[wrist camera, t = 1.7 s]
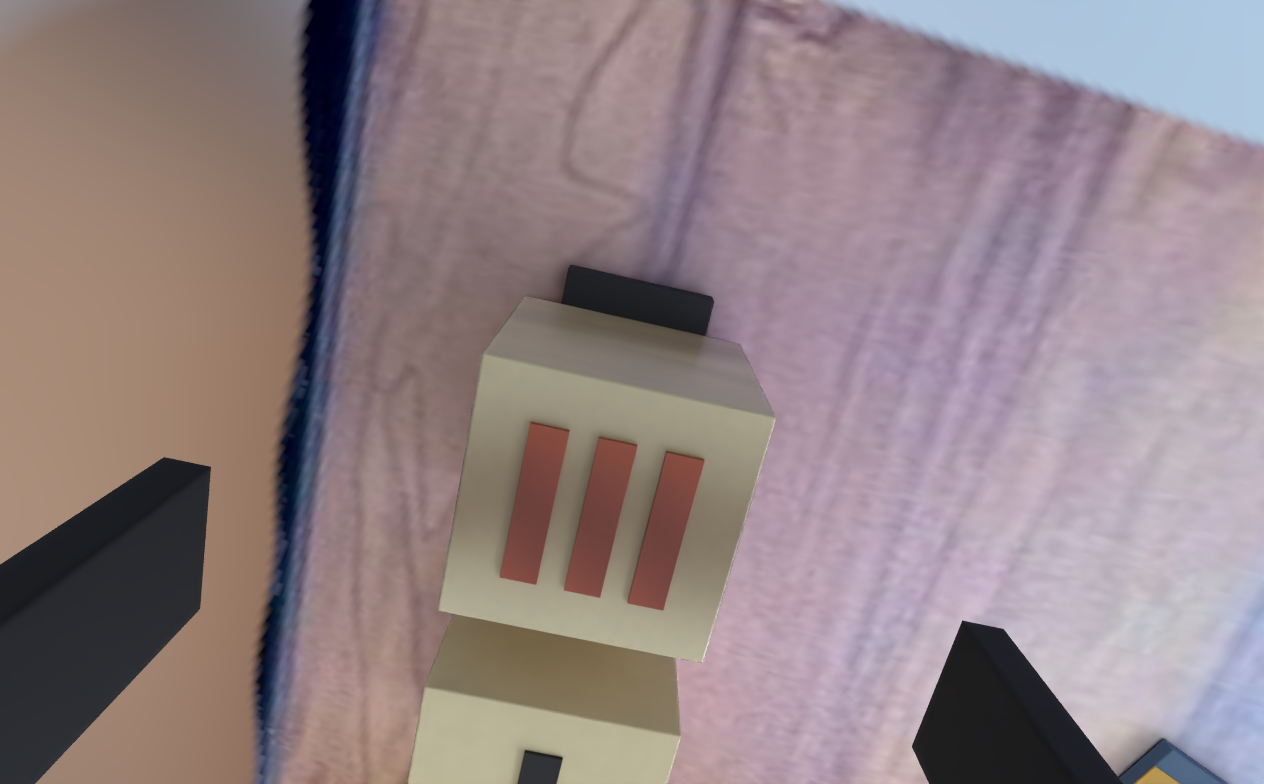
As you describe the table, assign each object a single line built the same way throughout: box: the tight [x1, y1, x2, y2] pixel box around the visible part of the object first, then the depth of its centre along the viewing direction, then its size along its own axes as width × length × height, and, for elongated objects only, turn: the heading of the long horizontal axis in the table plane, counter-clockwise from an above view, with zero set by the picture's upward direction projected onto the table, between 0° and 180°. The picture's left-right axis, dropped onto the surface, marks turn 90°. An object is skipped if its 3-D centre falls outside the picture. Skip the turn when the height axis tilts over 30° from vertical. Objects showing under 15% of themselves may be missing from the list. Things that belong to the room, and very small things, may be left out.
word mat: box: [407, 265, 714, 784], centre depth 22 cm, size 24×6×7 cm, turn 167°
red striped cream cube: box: [438, 296, 776, 663], centre depth 19 cm, size 6×6×6 cm
